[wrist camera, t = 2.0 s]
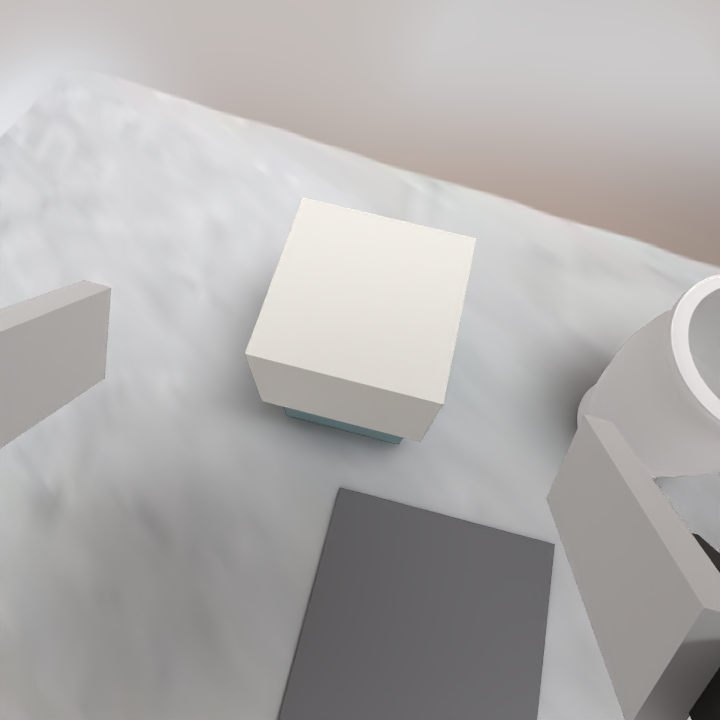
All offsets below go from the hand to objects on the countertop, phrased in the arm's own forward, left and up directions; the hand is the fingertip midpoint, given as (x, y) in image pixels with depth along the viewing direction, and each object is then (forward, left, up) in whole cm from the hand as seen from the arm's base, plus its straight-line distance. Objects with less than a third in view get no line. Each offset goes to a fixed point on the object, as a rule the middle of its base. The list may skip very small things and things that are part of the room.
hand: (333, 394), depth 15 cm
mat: (-3, +9, -27) cm, 28 cm away
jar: (-24, +1, -27) cm, 36 cm away
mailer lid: (-5, -10, -21) cm, 24 cm away
